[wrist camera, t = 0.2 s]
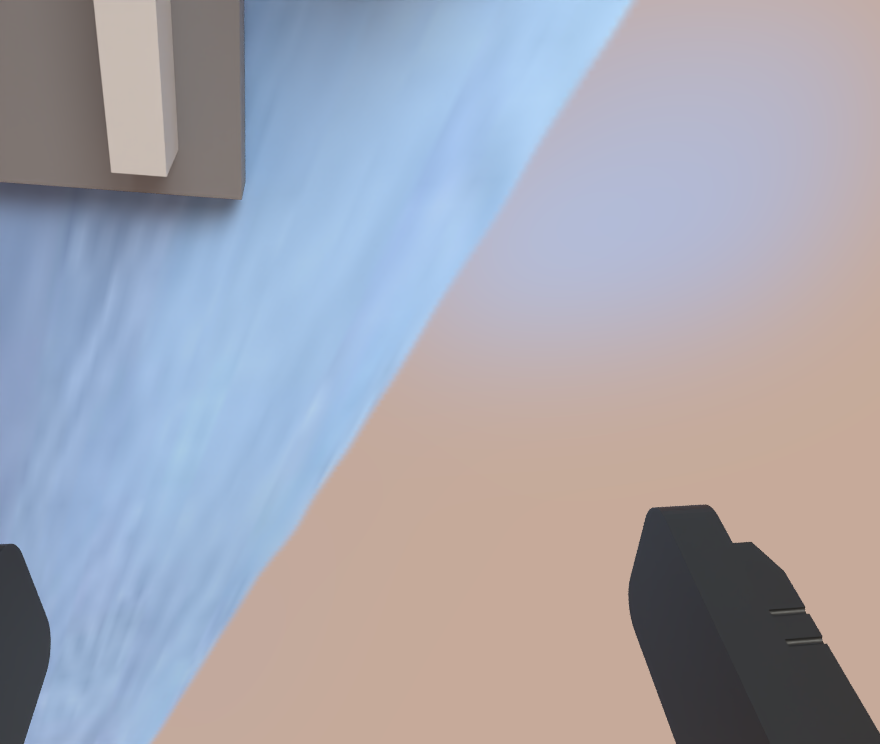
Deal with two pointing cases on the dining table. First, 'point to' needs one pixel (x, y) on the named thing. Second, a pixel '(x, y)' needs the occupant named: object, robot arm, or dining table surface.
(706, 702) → the robot arm
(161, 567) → the dining table surface
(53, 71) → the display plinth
